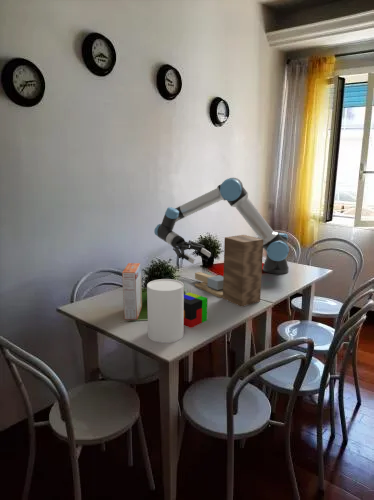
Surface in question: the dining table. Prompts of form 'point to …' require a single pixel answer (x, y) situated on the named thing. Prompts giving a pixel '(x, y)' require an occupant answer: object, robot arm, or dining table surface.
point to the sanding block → (211, 280)
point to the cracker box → (132, 291)
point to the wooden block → (242, 269)
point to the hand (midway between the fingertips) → (202, 258)
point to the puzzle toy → (194, 309)
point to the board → (209, 289)
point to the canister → (165, 310)
